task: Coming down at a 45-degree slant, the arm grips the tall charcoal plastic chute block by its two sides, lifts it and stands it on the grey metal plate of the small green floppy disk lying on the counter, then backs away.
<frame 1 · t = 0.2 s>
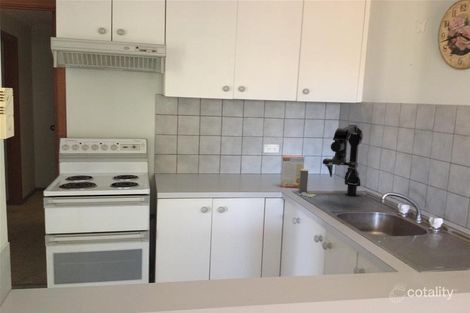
hand: (338, 178, 239), 15 cm above the counter, tool pointing down, fingers open, 9 cm apart
cracker box: (291, 187, 281), on the counter
green floppy disk: (304, 195, 257), on the counter
chute block: (302, 192, 266), on the counter
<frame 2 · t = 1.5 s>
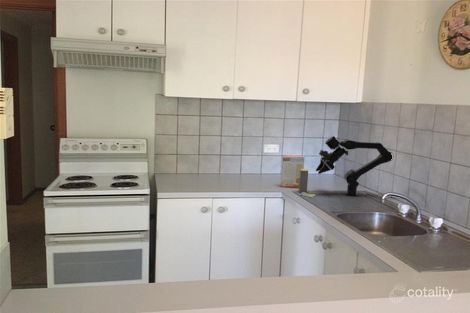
hand: (317, 172, 263), 13 cm above the counter, tool tilted 45°, fingers open, 9 cm apart
nothing on the counter moved.
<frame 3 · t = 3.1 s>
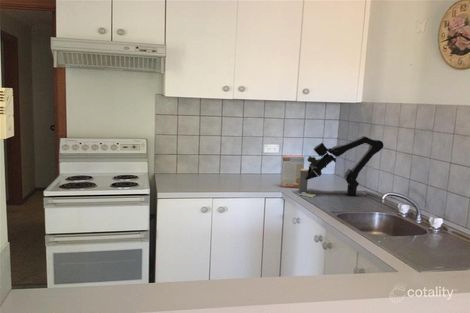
hand: (305, 177, 265), 9 cm above the counter, tool tilted 45°, fingers open, 9 cm apart
nothing on the counter moved.
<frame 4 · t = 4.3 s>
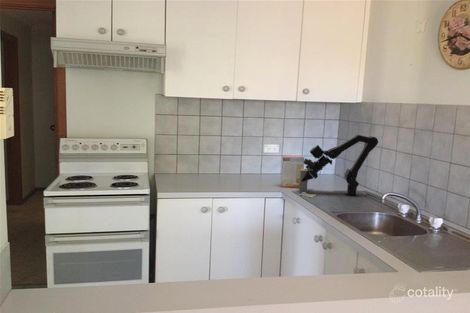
hand: (301, 180, 265), 7 cm above the counter, tool tilted 45°, fingers closed on chute block, 4 cm apart
chute block: (302, 192, 266), on the counter, touching gripper
everything else where it was.
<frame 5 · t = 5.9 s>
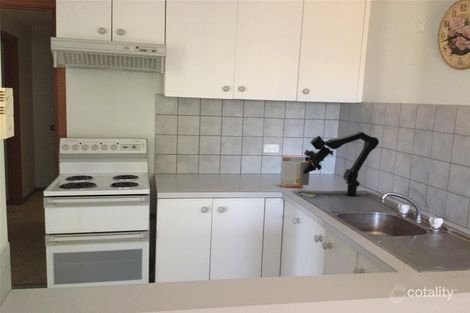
hand: (302, 172, 258), 14 cm above the counter, tool tilted 45°, fingers closed on chute block, 4 cm apart
chute block: (303, 184, 260), point 6 cm above the counter, touching gripper
everything else where it was.
when the fingers open (9 cm above the counter, at t = 7.5 s): chute block stays where it is, resting on green floppy disk.
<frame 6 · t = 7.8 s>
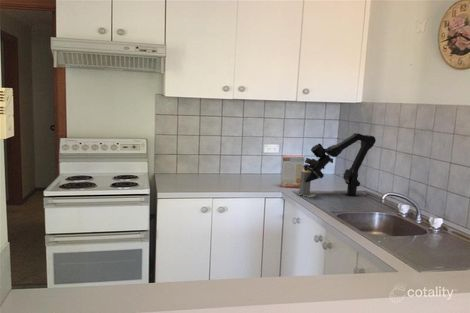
hand: (303, 180, 255), 9 cm above the counter, tool tilted 45°, fingers open, 7 cm apart
chute block: (304, 194, 256), point 1 cm above the counter, touching green floppy disk
everything else where it was.
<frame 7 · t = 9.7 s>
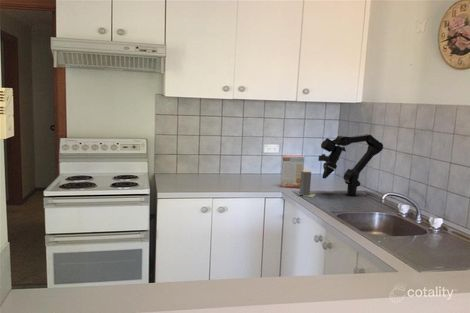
hand: (323, 178, 257), 11 cm above the counter, tool tilted 25°, fingers open, 9 cm apart
nothing on the counter moved.
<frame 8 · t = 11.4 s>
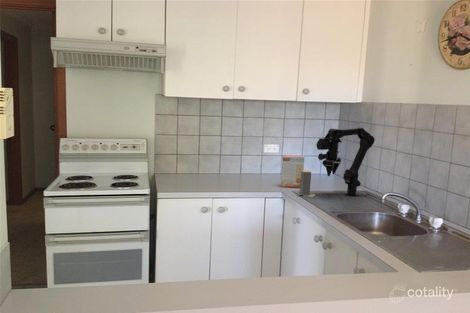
hand: (331, 175, 257), 13 cm above the counter, tool pointing down, fingers open, 9 cm apart
nothing on the counter moved.
at the end: chute block inside the target area on the green floppy disk (0.0 cm from its centre), point 0.8 cm above the green floppy disk's base; chute block tilted 0°; the gripper is holding nothing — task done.
